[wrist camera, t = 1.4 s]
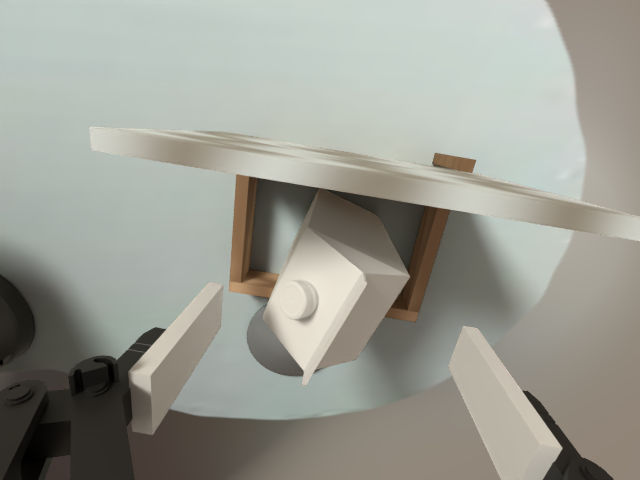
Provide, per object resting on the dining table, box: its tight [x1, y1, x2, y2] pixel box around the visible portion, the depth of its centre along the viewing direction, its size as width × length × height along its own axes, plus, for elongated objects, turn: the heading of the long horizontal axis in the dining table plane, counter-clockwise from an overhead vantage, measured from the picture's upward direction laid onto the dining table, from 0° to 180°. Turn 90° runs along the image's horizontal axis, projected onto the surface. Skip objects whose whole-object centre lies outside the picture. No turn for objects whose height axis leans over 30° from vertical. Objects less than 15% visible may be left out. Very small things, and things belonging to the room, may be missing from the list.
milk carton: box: [263, 188, 410, 386], centre depth 25 cm, size 7×7×19 cm
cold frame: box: [89, 127, 640, 322], centre depth 23 cm, size 20×17×21 cm
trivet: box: [247, 305, 318, 376], centre depth 38 cm, size 11×11×1 cm
